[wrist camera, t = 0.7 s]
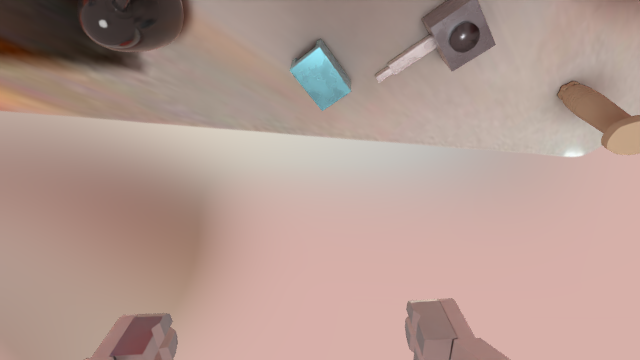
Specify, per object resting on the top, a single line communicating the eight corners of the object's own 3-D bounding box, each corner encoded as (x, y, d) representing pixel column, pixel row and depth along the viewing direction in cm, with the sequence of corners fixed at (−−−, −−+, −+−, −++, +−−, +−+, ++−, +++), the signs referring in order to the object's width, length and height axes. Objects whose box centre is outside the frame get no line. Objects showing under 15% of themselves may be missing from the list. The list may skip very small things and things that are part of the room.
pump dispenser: (208, 9, 46) (164, 37, 34) (164, 52, 50) (111, 91, 38) (148, -62, 41) (72, -58, 29) (105, -8, 45) (23, 15, 34)
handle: (580, 104, 53) (650, 155, 41) (541, 103, 53) (599, 154, 41) (596, 75, 50) (676, 121, 38) (554, 75, 50) (621, 120, 38)
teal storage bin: (292, 60, 50) (289, 70, 47) (320, 38, 48) (319, 47, 45) (323, 99, 54) (322, 110, 51) (350, 80, 52) (351, 91, 48)
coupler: (387, 93, 53) (392, 110, 48) (365, 58, 50) (368, 73, 45) (480, 34, 47) (497, 46, 42) (462, -10, 43) (478, -3, 39)
